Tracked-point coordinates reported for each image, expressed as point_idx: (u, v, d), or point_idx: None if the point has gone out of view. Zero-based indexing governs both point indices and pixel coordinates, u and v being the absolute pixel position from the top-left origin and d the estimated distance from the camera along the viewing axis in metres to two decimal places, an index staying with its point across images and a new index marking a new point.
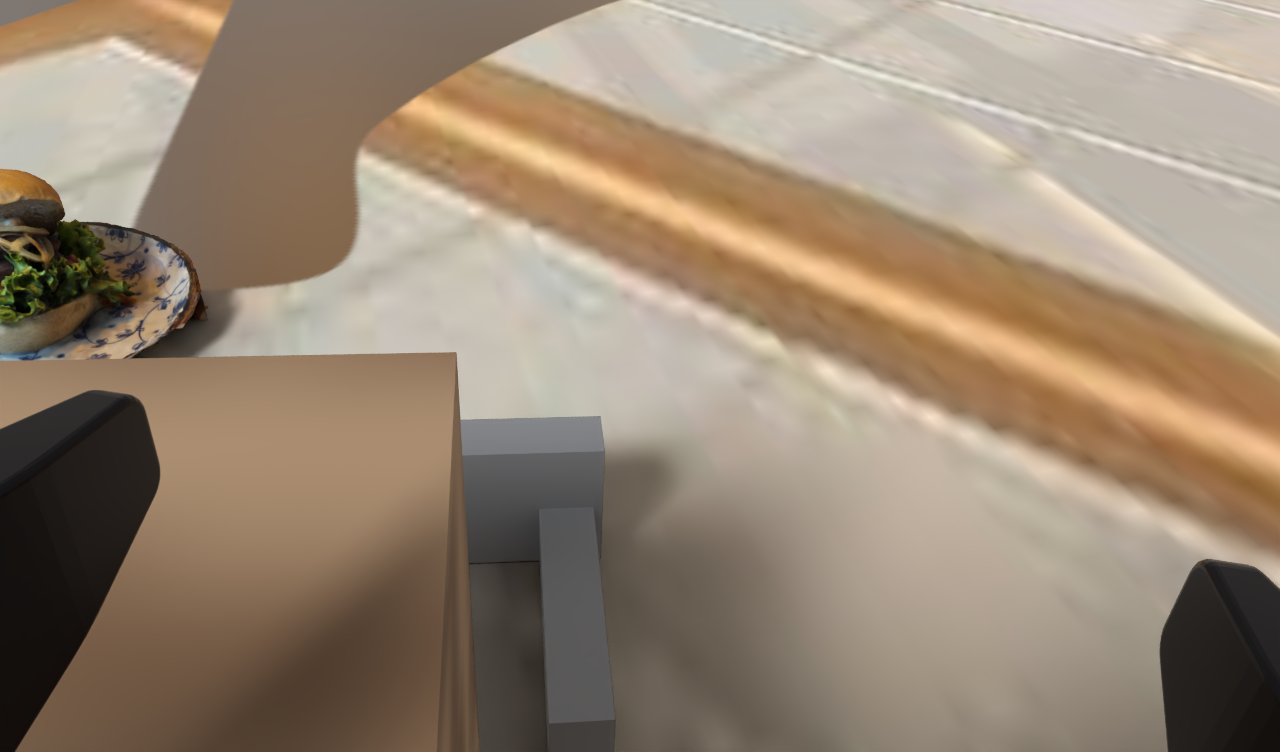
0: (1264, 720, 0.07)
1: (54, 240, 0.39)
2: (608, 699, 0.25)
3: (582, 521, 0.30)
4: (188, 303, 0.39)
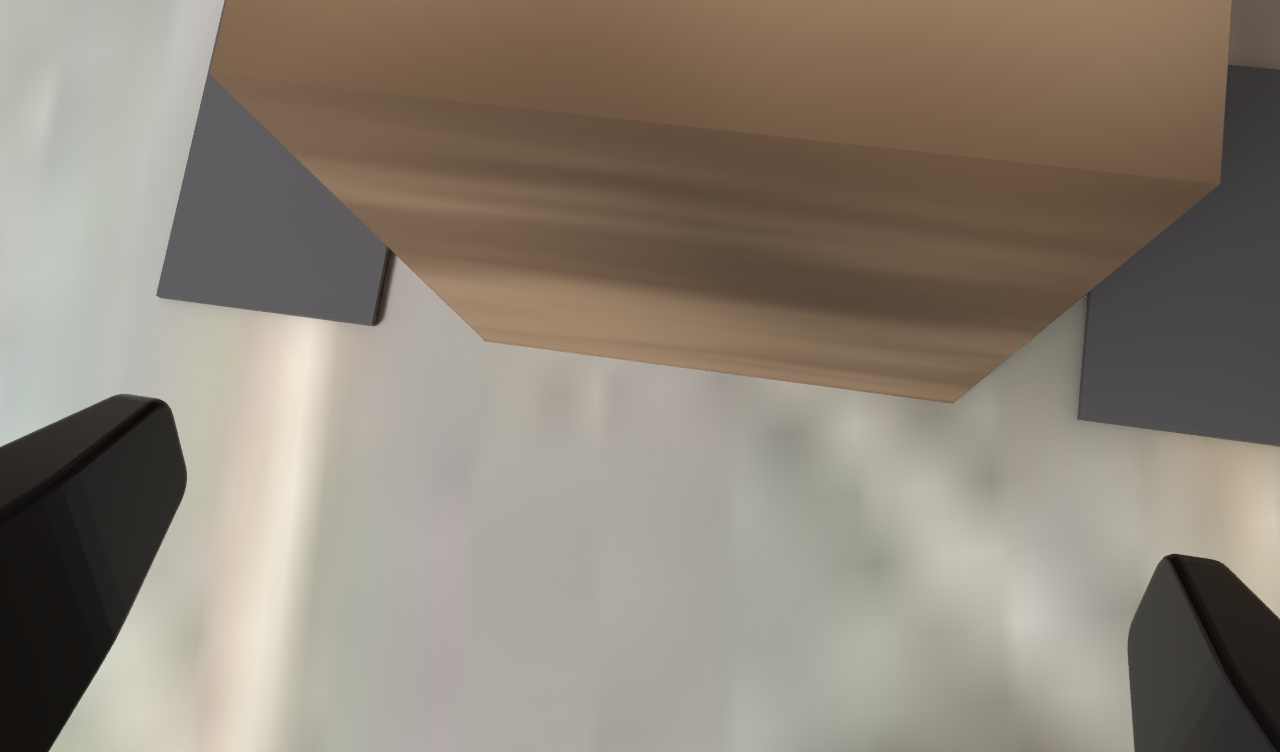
0: (1223, 714, 0.07)
1: None
2: None
3: None
4: None
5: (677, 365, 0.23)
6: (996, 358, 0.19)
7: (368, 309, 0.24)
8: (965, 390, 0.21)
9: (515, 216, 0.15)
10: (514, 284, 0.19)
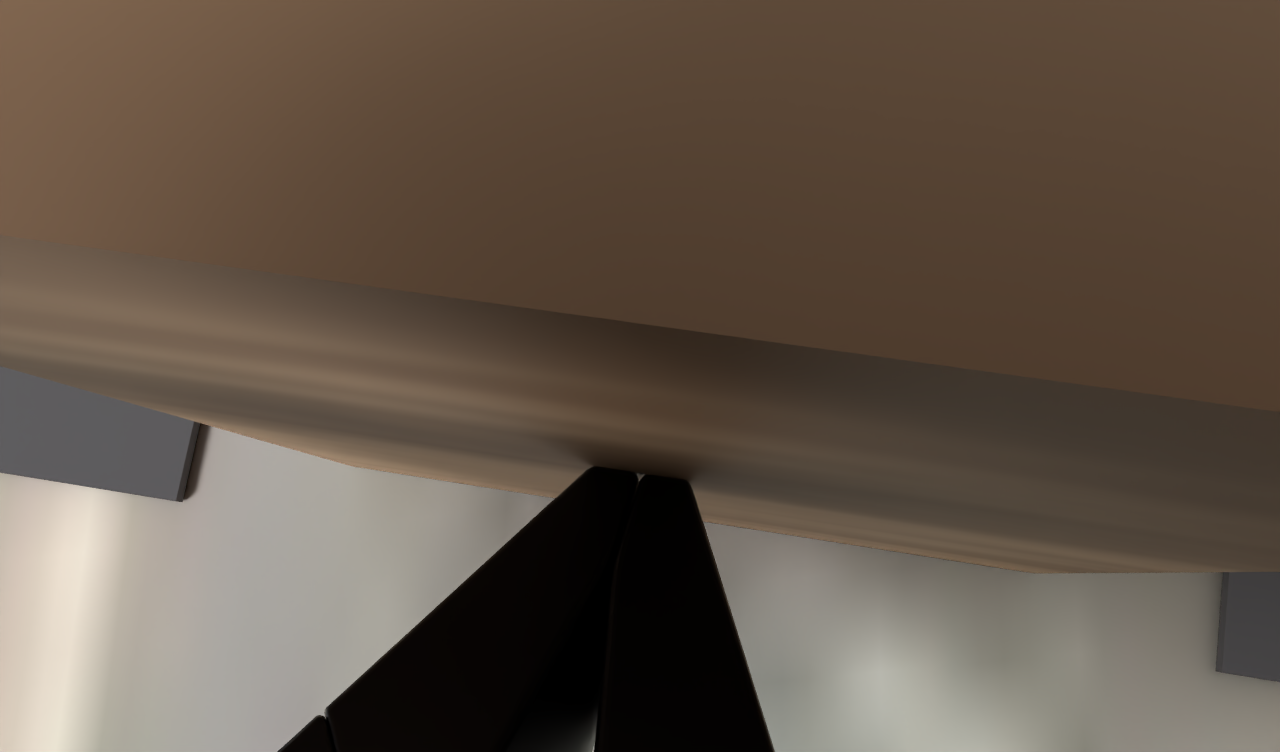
0: None
1: None
2: None
3: None
4: None
5: None
6: (1142, 570, 0.11)
7: (172, 479, 0.17)
8: (1064, 572, 0.14)
9: (235, 385, 0.07)
10: (331, 438, 0.11)
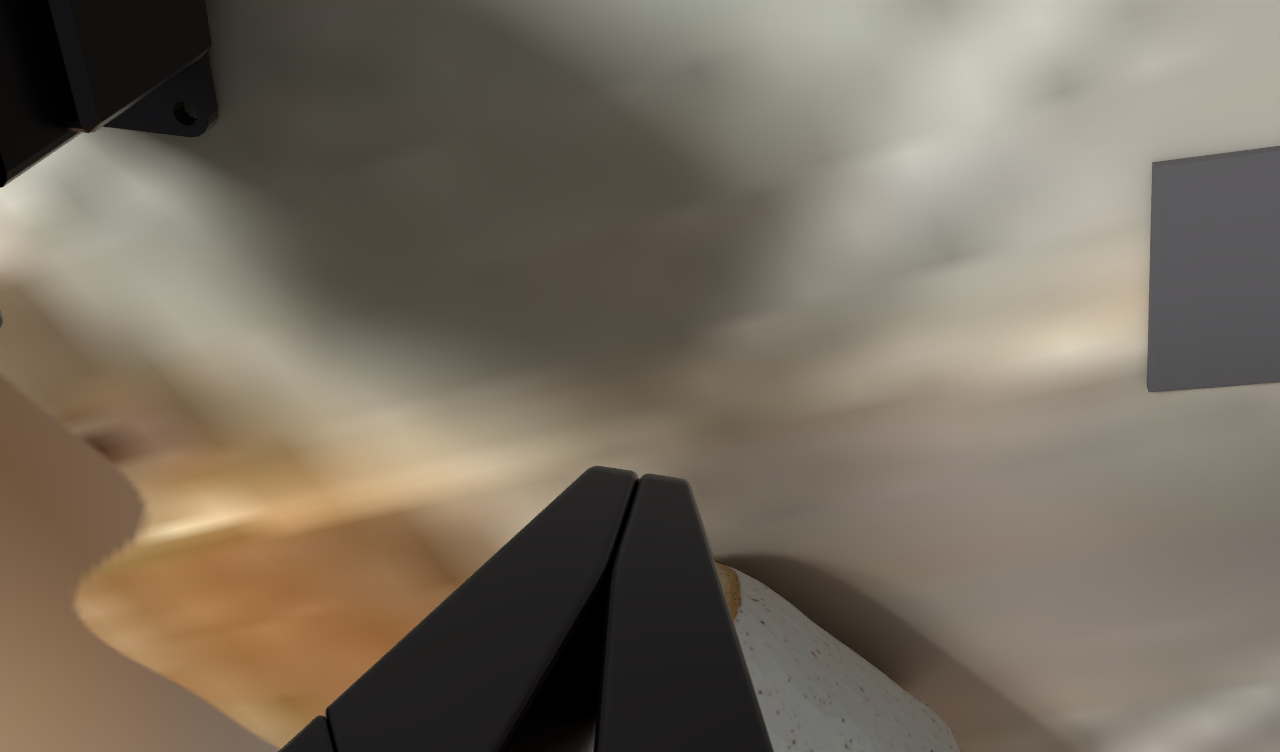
0: None
1: None
2: None
3: None
4: None
5: None
6: None
7: None
8: None
9: None
10: None
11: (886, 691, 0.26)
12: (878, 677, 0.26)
